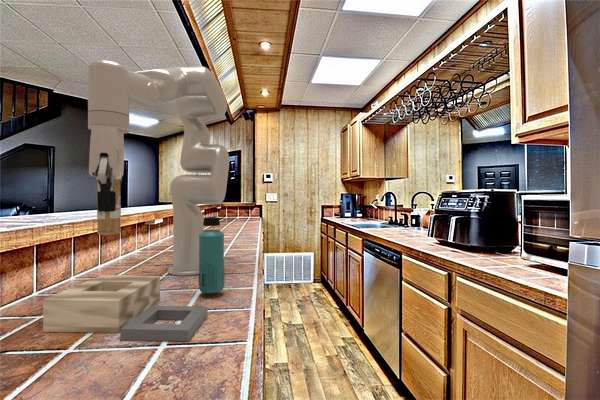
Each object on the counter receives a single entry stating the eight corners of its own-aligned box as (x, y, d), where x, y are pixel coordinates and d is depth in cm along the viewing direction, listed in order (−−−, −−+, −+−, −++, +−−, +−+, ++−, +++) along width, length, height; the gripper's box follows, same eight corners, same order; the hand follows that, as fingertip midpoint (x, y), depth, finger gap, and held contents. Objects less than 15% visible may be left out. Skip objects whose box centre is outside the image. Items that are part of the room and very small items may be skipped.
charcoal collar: (151, 314, 70) (151, 305, 70) (207, 315, 70) (207, 306, 70) (120, 340, 58) (120, 329, 58) (188, 341, 58) (188, 330, 58)
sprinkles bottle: (122, 234, 69) (122, 170, 69) (96, 236, 67) (96, 169, 66) (120, 232, 73) (120, 171, 73) (96, 233, 71) (95, 170, 70)
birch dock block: (101, 299, 79) (101, 274, 79) (159, 300, 79) (159, 275, 79) (43, 331, 61) (43, 299, 61) (118, 332, 61) (118, 300, 61)
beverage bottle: (229, 292, 86) (230, 216, 86) (214, 300, 80) (215, 218, 79) (208, 290, 88) (208, 215, 88) (192, 297, 82) (192, 217, 82)
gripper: (98, 129, 76) (98, 208, 76) (76, 113, 60) (76, 213, 61) (134, 131, 78) (134, 208, 79) (122, 117, 63) (122, 213, 63)
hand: (109, 209), depth 70 cm, fingers closed on sprinkles bottle, 4 cm apart
